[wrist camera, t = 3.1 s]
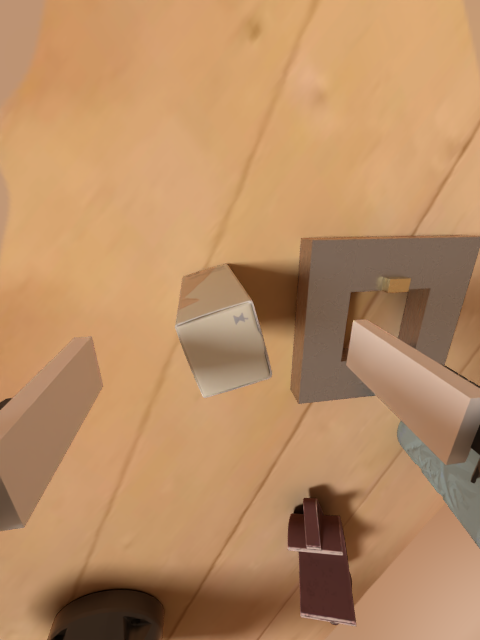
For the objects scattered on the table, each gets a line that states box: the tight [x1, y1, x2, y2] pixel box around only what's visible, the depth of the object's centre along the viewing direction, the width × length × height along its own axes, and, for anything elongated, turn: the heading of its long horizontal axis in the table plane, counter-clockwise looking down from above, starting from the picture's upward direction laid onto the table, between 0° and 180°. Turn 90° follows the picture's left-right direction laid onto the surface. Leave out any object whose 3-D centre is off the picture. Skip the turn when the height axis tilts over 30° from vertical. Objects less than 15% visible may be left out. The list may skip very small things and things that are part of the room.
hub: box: [291, 235, 480, 404], centre depth 26 cm, size 16×16×3 cm
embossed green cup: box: [397, 421, 480, 548], centre depth 29 cm, size 10×10×12 cm
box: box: [175, 264, 272, 398], centre depth 19 cm, size 5×4×11 cm
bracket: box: [288, 498, 356, 626], centre depth 35 cm, size 6×17×10 cm, turn 22°
